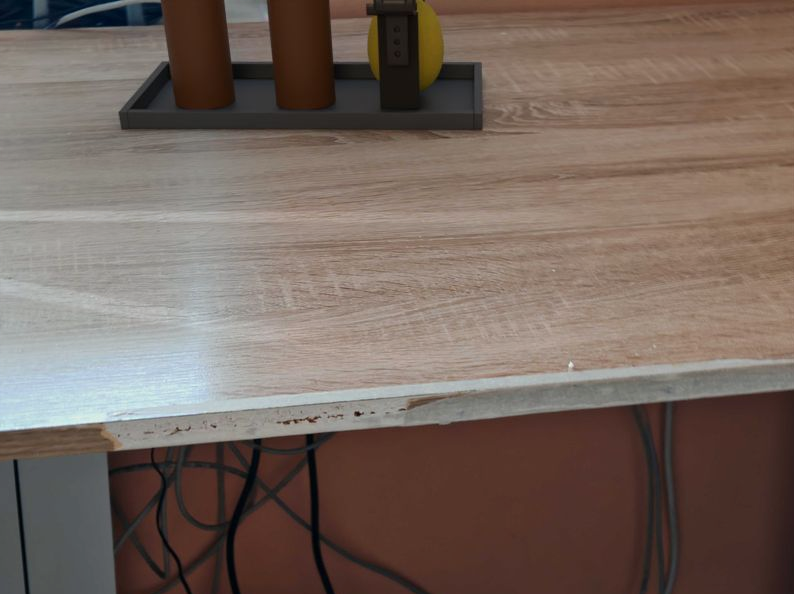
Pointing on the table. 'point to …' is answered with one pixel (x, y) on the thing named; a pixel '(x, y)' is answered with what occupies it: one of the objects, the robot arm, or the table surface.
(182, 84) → the bottle
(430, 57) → the lemon
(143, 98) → the tray
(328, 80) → the bottle
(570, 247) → the table surface
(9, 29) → the table surface
